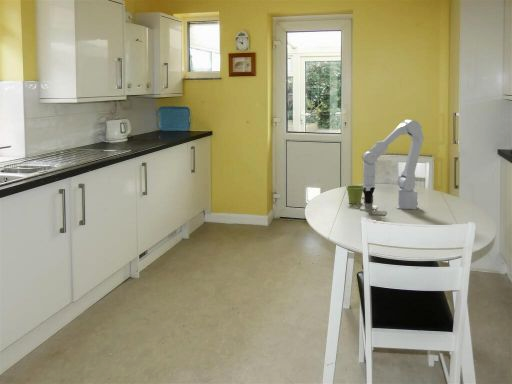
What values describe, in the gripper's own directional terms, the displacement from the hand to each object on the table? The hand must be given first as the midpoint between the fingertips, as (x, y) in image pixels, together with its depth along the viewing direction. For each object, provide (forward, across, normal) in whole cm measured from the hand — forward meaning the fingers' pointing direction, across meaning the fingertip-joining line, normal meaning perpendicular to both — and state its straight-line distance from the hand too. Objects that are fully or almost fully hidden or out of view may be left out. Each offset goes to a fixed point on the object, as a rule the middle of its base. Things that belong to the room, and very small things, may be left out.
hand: (368, 202), depth 282 cm
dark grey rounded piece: (0, 0, 0) cm, 0 cm away
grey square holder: (+3, 0, 0) cm, 3 cm away
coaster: (+3, +10, +5) cm, 12 cm away
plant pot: (+3, -13, -8) cm, 16 cm away
